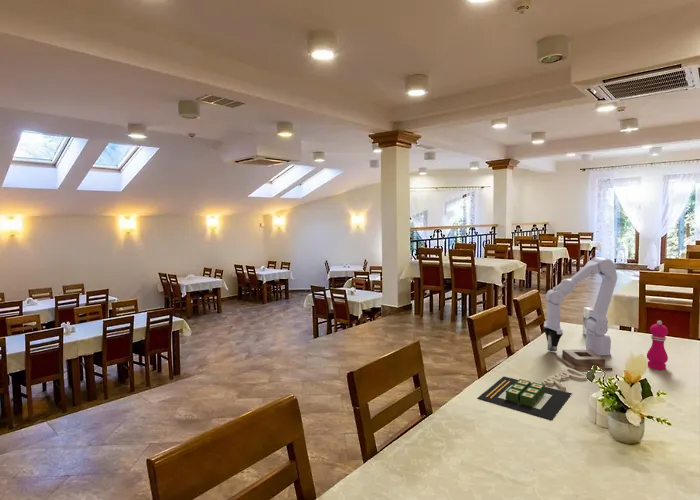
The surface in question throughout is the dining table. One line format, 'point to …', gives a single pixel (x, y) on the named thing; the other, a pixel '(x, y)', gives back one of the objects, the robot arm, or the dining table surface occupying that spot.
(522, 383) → the sushi
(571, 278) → the robot arm
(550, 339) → the peg
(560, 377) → the decorative sign
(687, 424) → the dining table surface
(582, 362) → the socket board
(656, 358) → the pepper mill
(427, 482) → the dining table surface
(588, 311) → the syrup box
